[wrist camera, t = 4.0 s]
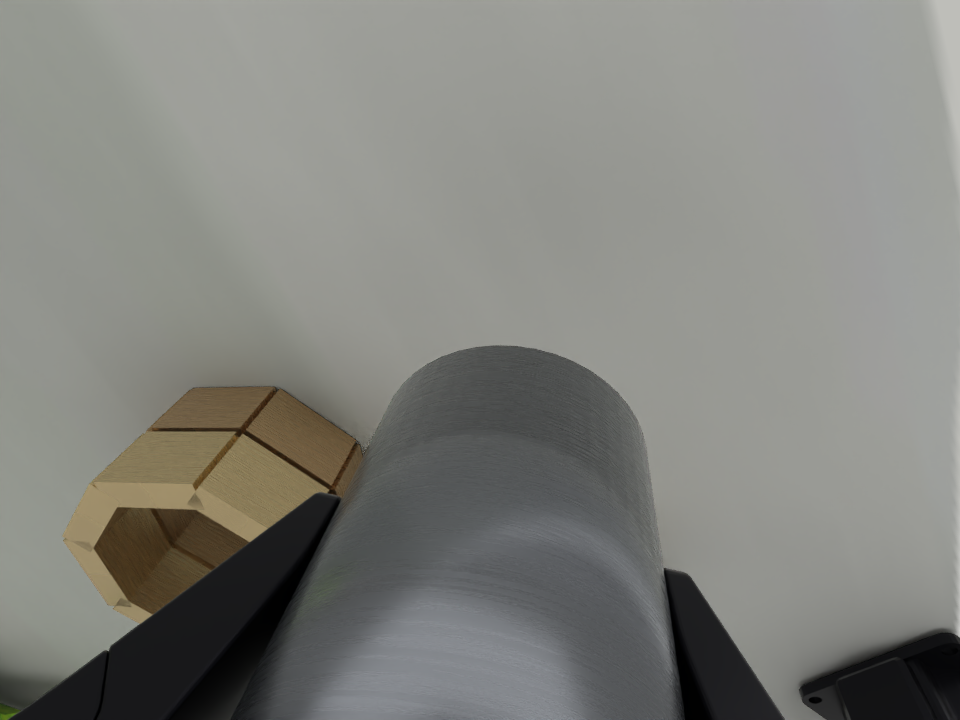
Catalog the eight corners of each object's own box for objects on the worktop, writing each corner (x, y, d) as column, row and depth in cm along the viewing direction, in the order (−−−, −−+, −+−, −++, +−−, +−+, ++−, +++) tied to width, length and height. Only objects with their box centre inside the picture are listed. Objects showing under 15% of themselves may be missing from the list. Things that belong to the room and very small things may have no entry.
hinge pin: (707, 462, 10) (888, 1114, 4) (524, 584, 12) (470, 1099, 6) (488, 287, 9) (297, 825, 3) (336, 458, 11) (64, 939, 5)
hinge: (658, 558, 21) (677, 690, 17) (425, 696, 29) (398, 810, 25) (260, 269, 18) (159, 347, 14) (114, 516, 26) (21, 614, 21)
